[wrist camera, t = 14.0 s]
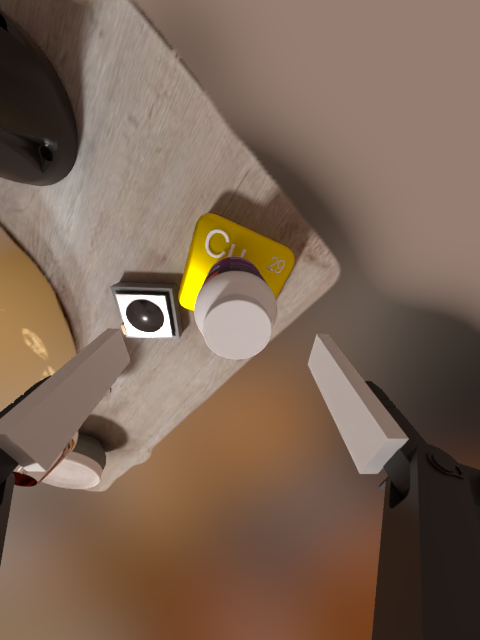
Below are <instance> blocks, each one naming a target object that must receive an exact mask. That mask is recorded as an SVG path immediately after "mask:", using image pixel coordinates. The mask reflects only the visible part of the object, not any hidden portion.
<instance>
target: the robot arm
mask: <svg viewBox="0 0 480 640" xmlns="http://www.w3.org/2000/svg"><path fill="white" fill-rule="evenodd" d="M76 151H77V131H76V124H75V119H74V115H73V111H72V107H71V104H70V101H69V99H68V96H67V93H66V91H65V89H64V87H63V84H62V82H61V80H60V78H59V76H58V75H57V73H56V71H55V69H54V68H53V66H52V64H51V63H50V61H49V60H48V58H47V57H46V55H45V54H44V53H43V51H42V50H41V49H40V47H39V46H38V45H37V44H36V42H35V41H34V40H33V39H32V38H31V37H30V35H29V34H28V33H27V32H26V31H25V30H24V29H23V28H22V27H21V26H20V25H19V24H17V23H16V22H15V21H14V20H13V19H12V18H11V17H10V16H8V15H7V14H6V13H5V12H4V11H3V10H2V9H1V8H0V177H2V178H4V179H7V180H11V181H14V182H19V183H24V184H30V185H36V186H47V185H52V184H55V183H57V182H59V181H60V180H62V179H63V178H64V177H65V176H66V175H67V174H68V173H69V171H70V170H71V168H72V166H73V163H74V161H75V157H76ZM130 361H131V360H130V357H129V354H128V351H127V349H126V346H125V343H124V340H123V337H122V334H121V331H120V329H107V330H106V331H104V332H103V333H102V334H101V335H100V336H98V337H97V338H96V339H95V340H94V341H93V342H91V343H90V344H89V345H88V346H87V347H85V348H84V349H83V350H82V351H81V352H79V353H78V354H77V355H76V356H75V357H73V358H72V359H71V360H70V361H69V362H68V363H66V364H65V365H64V366H63V367H62V368H60V369H59V370H58V371H57V372H56V373H54V374H53V375H52V376H48V377H46V378H45V379H43V380H41V381H39V382H38V383H36V384H35V385H33V386H32V387H31V388H30V389H28V390H27V391H26V392H25V393H24V395H21V396H20V397H19V398H17V399H16V400H15V401H14V403H11V404H10V405H9V406H7V407H6V408H5V409H4V410H3V411H1V412H0V565H1V558H2V552H3V547H4V541H5V535H6V529H7V523H8V517H9V511H10V505H11V499H12V493H13V487H14V482H15V476H14V474H13V473H12V472H13V471H14V470H15V468H16V467H17V466H18V465H20V466H21V467H23V468H24V469H25V470H26V471H39V472H46V471H47V470H48V469H49V467H50V466H51V465H52V464H53V462H54V461H55V460H56V458H57V457H58V456H59V454H60V453H61V452H62V450H63V449H64V448H65V446H66V445H67V444H68V442H69V441H70V440H71V439H72V437H73V436H74V435H75V433H76V432H77V431H78V429H79V428H80V427H81V425H82V424H83V423H84V421H85V420H86V419H87V418H88V416H89V415H90V414H91V412H92V411H93V410H94V408H95V407H96V406H97V404H98V403H99V402H100V400H101V399H102V398H103V396H104V395H105V394H106V393H107V391H108V390H109V389H110V387H111V386H112V385H113V383H114V382H115V381H116V379H117V378H118V377H119V375H120V374H121V373H122V371H123V370H124V369H125V368H126V366H127V365H128V364H129V362H130ZM308 366H309V368H310V370H311V372H312V374H313V377H314V379H315V381H316V383H317V385H318V387H319V389H320V391H321V393H322V396H323V398H324V400H325V402H326V404H327V406H328V408H329V410H330V412H331V414H332V416H333V418H334V421H335V423H336V425H337V427H338V429H339V431H340V433H341V435H342V438H343V440H344V442H345V444H346V446H347V448H348V450H349V452H350V454H351V457H352V459H353V461H354V463H355V465H356V467H357V469H358V471H359V473H360V474H377V473H378V472H379V471H380V470H381V469H382V468H383V467H384V469H385V471H386V472H387V474H388V477H387V478H386V479H385V480H384V481H383V482H382V483H381V484H380V486H379V489H380V490H382V489H384V488H385V497H384V508H383V519H382V530H381V542H380V553H379V564H378V576H377V586H376V597H375V609H374V619H373V631H372V640H480V470H478V469H475V468H472V467H468V466H466V465H462V464H459V463H458V462H457V461H456V460H454V459H453V458H452V457H451V456H450V455H449V454H447V453H446V452H444V451H443V450H441V449H440V448H437V447H435V446H432V445H429V444H427V443H426V441H424V439H423V438H422V437H421V436H420V435H419V433H418V432H417V431H416V430H415V429H414V427H413V426H412V425H411V424H410V423H409V422H408V420H407V419H406V418H405V417H404V416H403V414H402V413H401V412H400V411H399V410H398V409H397V408H396V406H395V405H394V404H393V402H392V401H390V400H389V398H388V396H387V395H386V394H385V393H384V392H383V390H382V389H380V388H379V387H378V386H377V385H375V384H374V383H373V382H371V381H364V380H363V379H362V378H361V376H360V375H359V374H358V372H357V371H356V370H355V369H354V367H353V366H352V365H351V363H350V362H349V361H348V360H347V358H346V357H345V356H344V354H343V353H342V352H341V351H340V349H339V348H338V347H337V346H336V344H335V343H334V342H333V340H332V339H331V338H330V336H329V335H328V334H317V335H316V338H315V341H314V345H313V348H312V352H311V355H310V358H309V362H308Z"/></svg>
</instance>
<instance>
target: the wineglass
mask: <svg viewBox="0 0 480 640" xmlns="http://www.w3.org/2000/svg"><path fill="white" fill-rule="evenodd" d="M110 391H111V389H109V390H108V391H107V393H106V394H105V395H104V396H103V397H105V396H107V395H109V394H110ZM78 437H79V432H78V431H77V432H76V433H75V435H74V436H73V437H72V439H71V440H70V441H69V442H68V444H67V445H66V446H65V448H64V449H63V450H62V452H61V453H60V454H59V456H58V457H57V458H56V460H55V461H54V462H53V464H52V465H51V466H50V467H49V469H48V470H47V471H46V472H39V471H26V470H25V469H24V468H23V467H21V466H20V465H18V466H17V467H16V468H15V470H14V471H13V472H12V473H13V474H14V476H15V482H14V485H16V486H21V487H34V486H36V485H38V484H39V483H40V482H41V481H42V480H43V479H44V478H45V477H46V476H47V475H49V474H50V473H51V472H52V471H53V470H54V469H55V468H56V467H57V466H58V465H59V464H60V463H61V462H62V461H63V460H64V459H65V458H66V457H67V456H68V455H69V454H70V453H71V452H72V451H73V449H74V448H75V446H76V444H77V442H78Z"/></svg>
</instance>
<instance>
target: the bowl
mask: <svg viewBox="0 0 480 640" xmlns="http://www.w3.org/2000/svg"><path fill="white" fill-rule="evenodd" d="M105 465H106V455H105V452H104V449H103V448H102V446H101V445H100V442H99V441H98V440H97V439H95V438H93V437H91V436H88V435H79V437H78V442H77V444H76V446H75V448H74V449H73V451H72V452H71V453H70V454H69V455H68V456H67V457H66V458H65V459H64V460H63V461H62V462H61V463H60V464H59V465H58V466H57V467H56V468H55V469H54V470H53V471H52V472H51V473H50V474H49V475H47V476H46V477H45V478H44V479H43V480H42V482H44V483H47V484H50V485H53V486H57V487H63V488H69V489H86V488H91V487H94V486H96V485H97V484H98V483H99V482H100V480H101V475H102V471H103V469H104V467H105Z"/></svg>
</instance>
